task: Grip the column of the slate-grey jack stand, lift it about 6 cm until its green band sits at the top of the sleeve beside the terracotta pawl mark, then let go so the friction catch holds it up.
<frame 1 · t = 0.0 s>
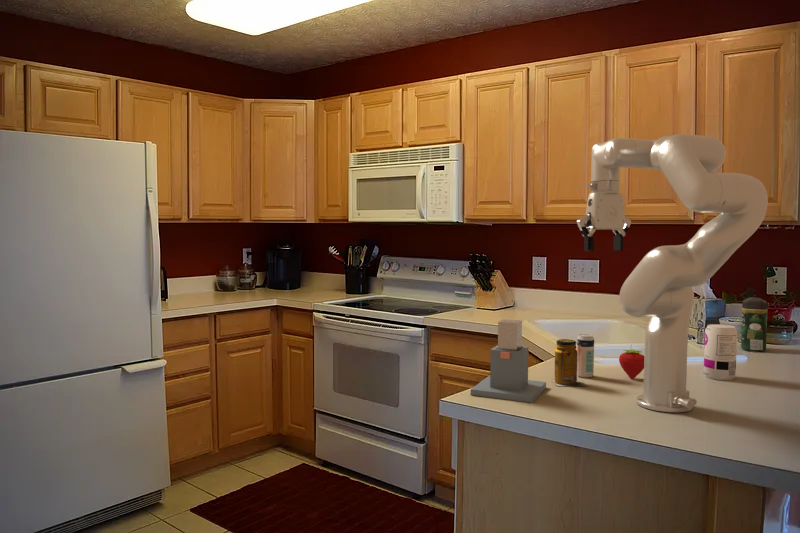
hand: (603, 250, 169), 37 cm above the worktop, tool pointing down, fingers open, 9 cm apart
coffee jar: (753, 350, 218), on the worktop
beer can: (584, 377, 178), on the worktop
condiment: (568, 384, 171), on the worktop
supplement can: (719, 378, 177), on the worktop
strawberry: (632, 379, 175), on the worktop
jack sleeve: (509, 391, 162), on the worktop
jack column: (509, 353, 161), point 10 cm above the worktop, slide at 0.0 cm
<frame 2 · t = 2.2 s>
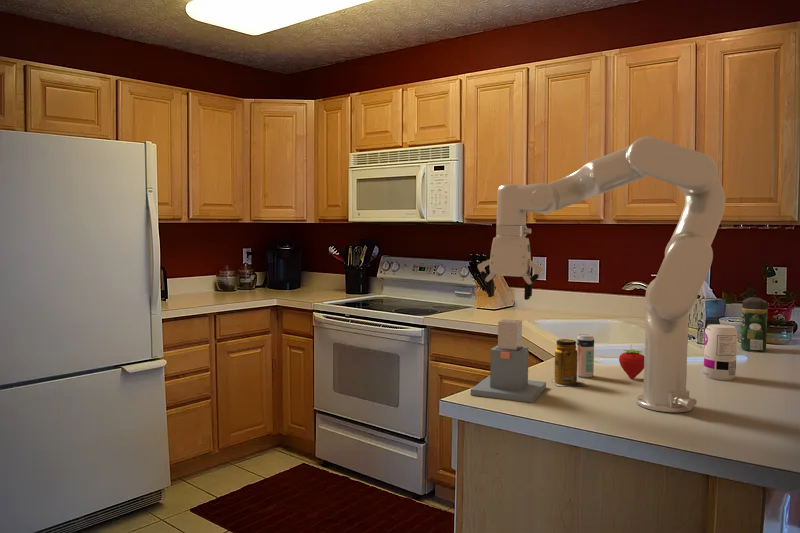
hand: (508, 297, 160), 25 cm above the worktop, tool pointing down, fingers open, 9 cm apart
nothing on the worktop moved.
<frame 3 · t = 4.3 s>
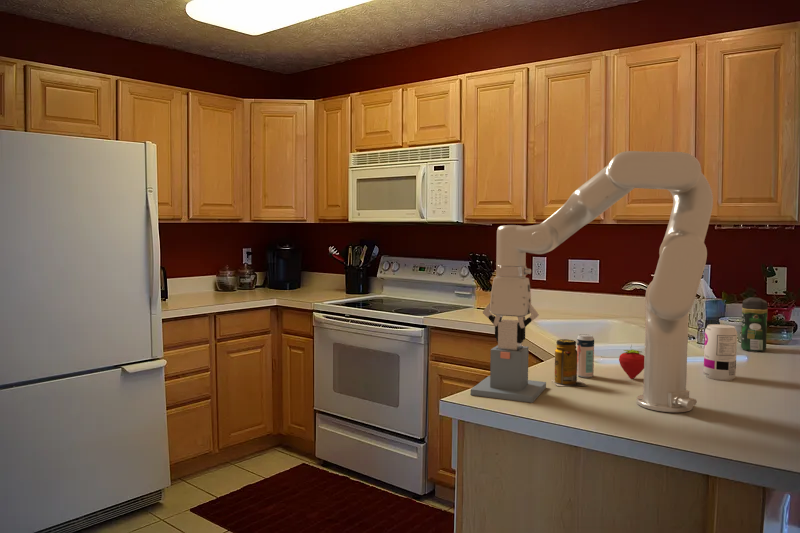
hand: (509, 340, 161), 13 cm above the worktop, tool pointing down, fingers closed on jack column, 5 cm apart
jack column: (509, 353, 161), point 10 cm above the worktop, slide at 0.0 cm, touching gripper
everything else where it was.
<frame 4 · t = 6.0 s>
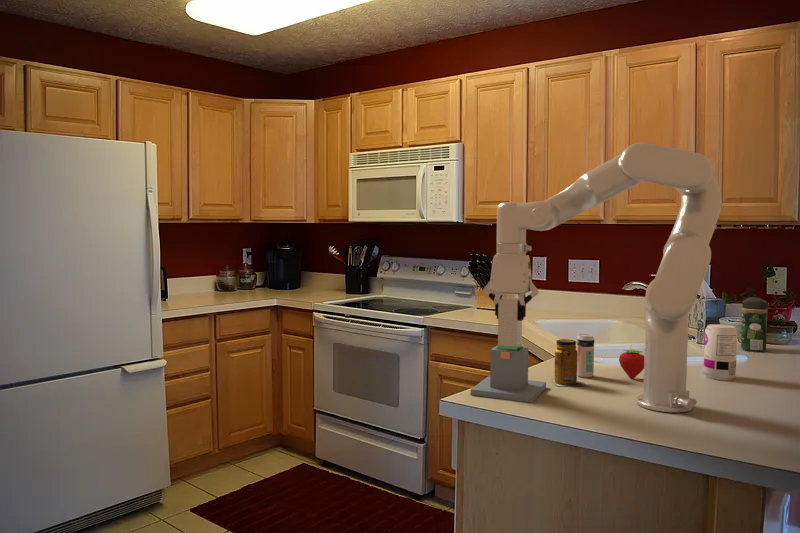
hand: (510, 318, 161), 19 cm above the worktop, tool pointing down, fingers closed on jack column, 5 cm apart
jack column: (510, 331, 161), point 16 cm above the worktop, slide at 5.9 cm, touching gripper
everything else where it was.
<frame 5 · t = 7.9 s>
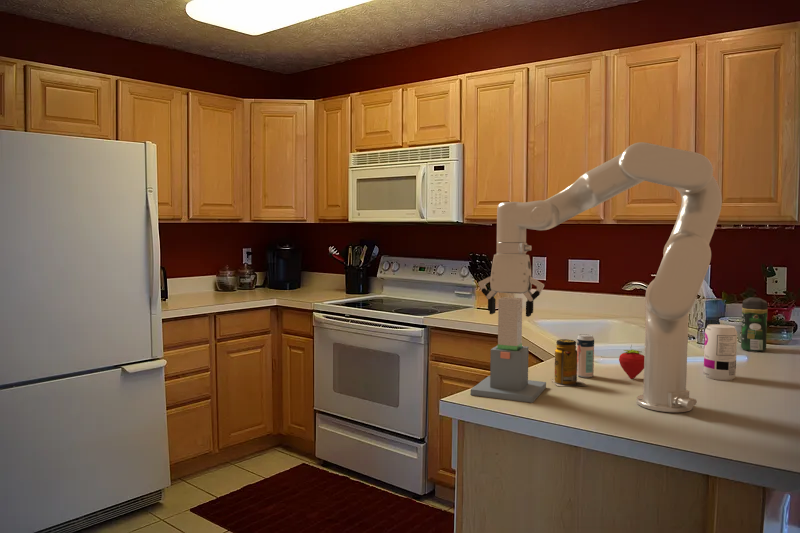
hand: (510, 314, 161), 20 cm above the worktop, tool pointing down, fingers open, 9 cm apart
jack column: (510, 330, 161), point 16 cm above the worktop, slide at 6.0 cm
everything else where it was.
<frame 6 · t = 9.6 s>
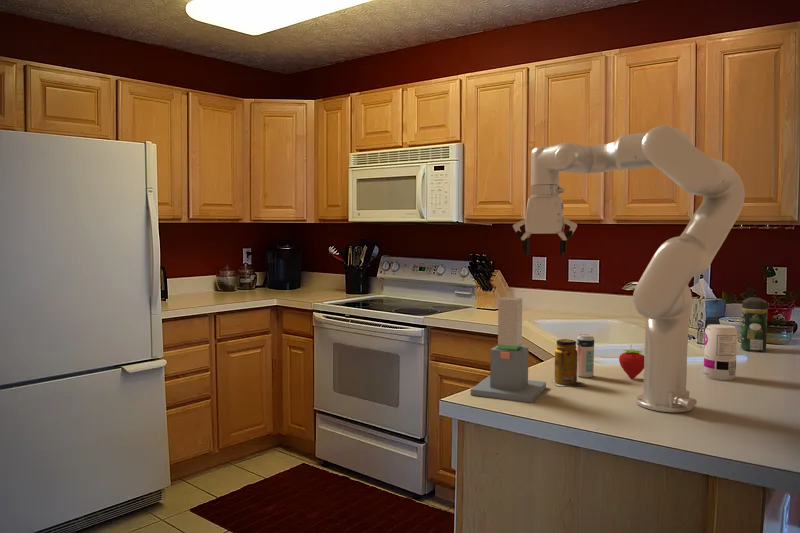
hand: (544, 254, 169), 36 cm above the worktop, tool pointing down, fingers open, 9 cm apart
nothing on the worktop moved.
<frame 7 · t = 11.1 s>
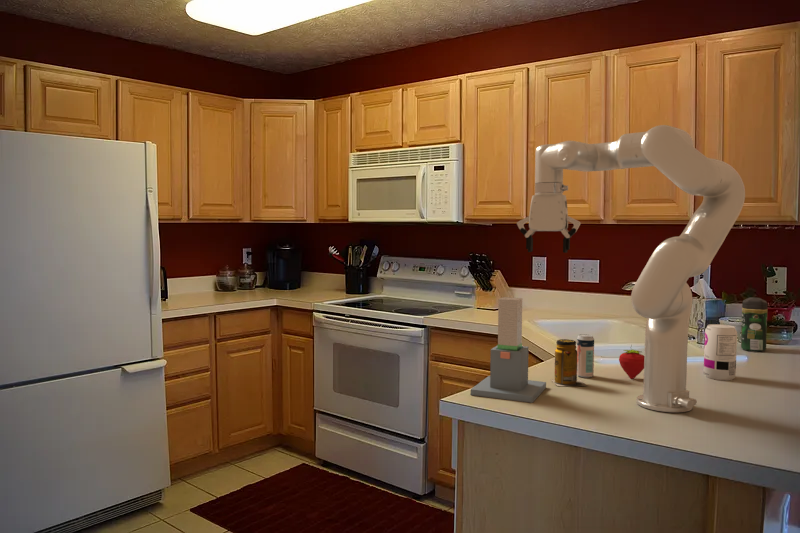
hand: (547, 252, 170), 36 cm above the worktop, tool pointing down, fingers open, 9 cm apart
nothing on the worktop moved.
at the end: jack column slide at 6.0 cm; the gripper is holding nothing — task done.
